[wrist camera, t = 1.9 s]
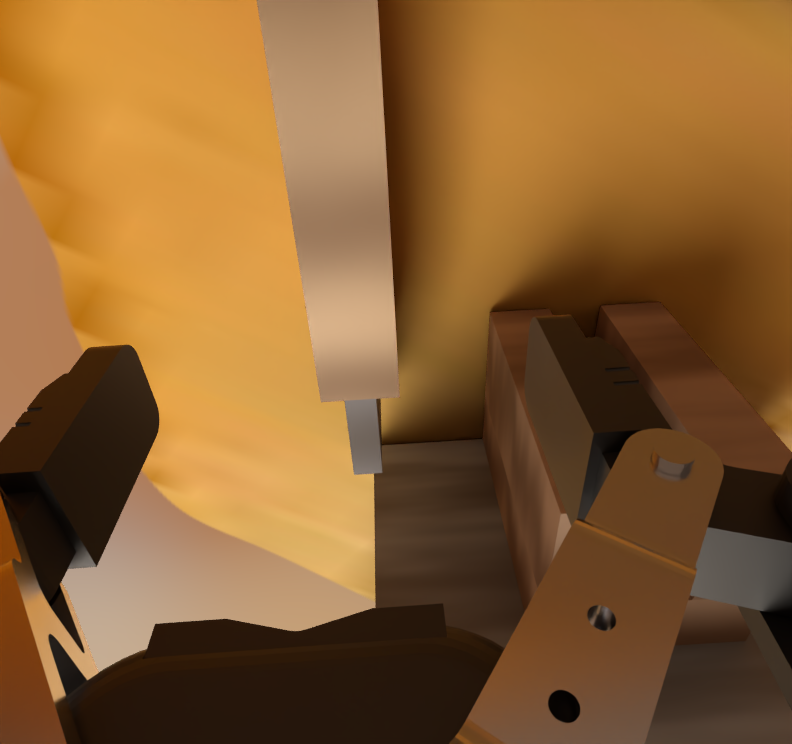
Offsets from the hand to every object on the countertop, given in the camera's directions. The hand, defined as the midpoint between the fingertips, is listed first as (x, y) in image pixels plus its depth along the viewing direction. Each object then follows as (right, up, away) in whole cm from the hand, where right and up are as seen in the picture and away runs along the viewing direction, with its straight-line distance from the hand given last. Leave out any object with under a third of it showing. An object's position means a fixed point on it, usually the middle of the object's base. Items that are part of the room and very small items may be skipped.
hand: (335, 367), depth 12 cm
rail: (-1, +6, +12) cm, 13 cm away
